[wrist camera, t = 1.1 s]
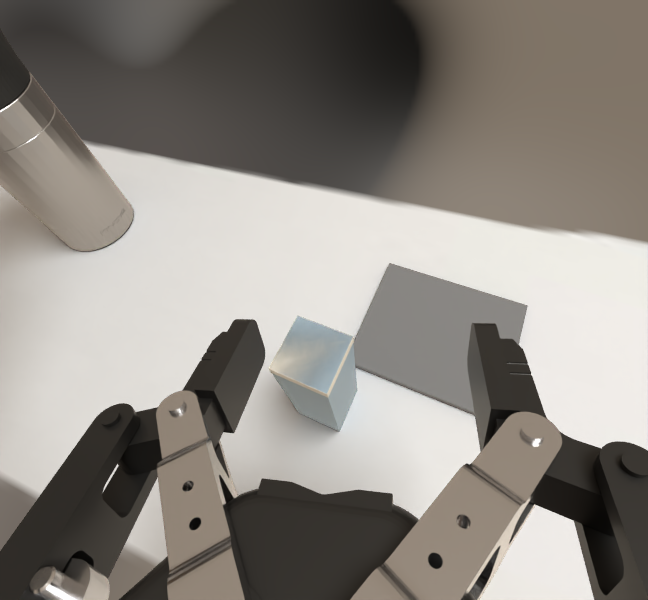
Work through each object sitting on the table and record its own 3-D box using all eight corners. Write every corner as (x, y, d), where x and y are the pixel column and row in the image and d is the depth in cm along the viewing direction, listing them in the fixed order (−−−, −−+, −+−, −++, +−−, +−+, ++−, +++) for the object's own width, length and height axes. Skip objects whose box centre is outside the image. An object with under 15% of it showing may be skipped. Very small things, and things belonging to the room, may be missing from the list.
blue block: (298, 413, 33) (268, 368, 23) (317, 373, 35) (297, 315, 25) (339, 432, 32) (326, 394, 22) (357, 390, 34) (353, 336, 24)
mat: (345, 362, 35) (345, 360, 35) (389, 266, 40) (389, 263, 40) (497, 424, 31) (499, 422, 31) (525, 308, 36) (527, 305, 36)
